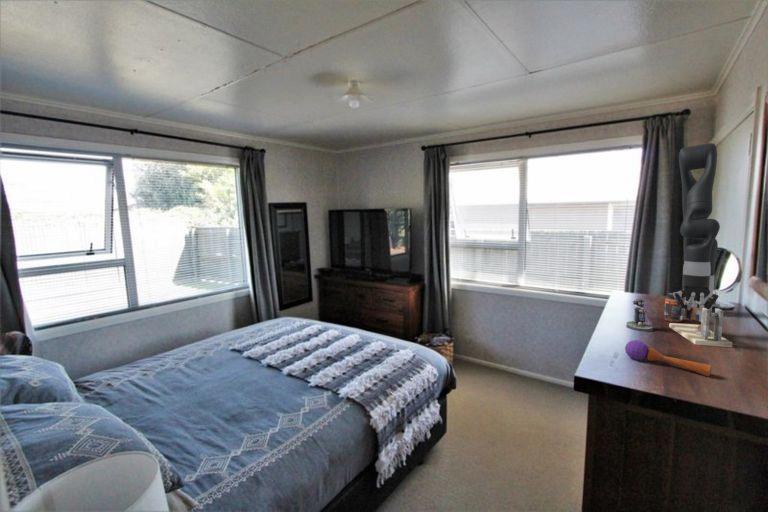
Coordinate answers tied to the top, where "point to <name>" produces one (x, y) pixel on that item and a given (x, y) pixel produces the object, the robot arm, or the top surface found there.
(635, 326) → the figurine
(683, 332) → the base
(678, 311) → the supplement bottle
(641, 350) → the two-tone long tapered part
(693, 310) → the lever
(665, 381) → the top surface
